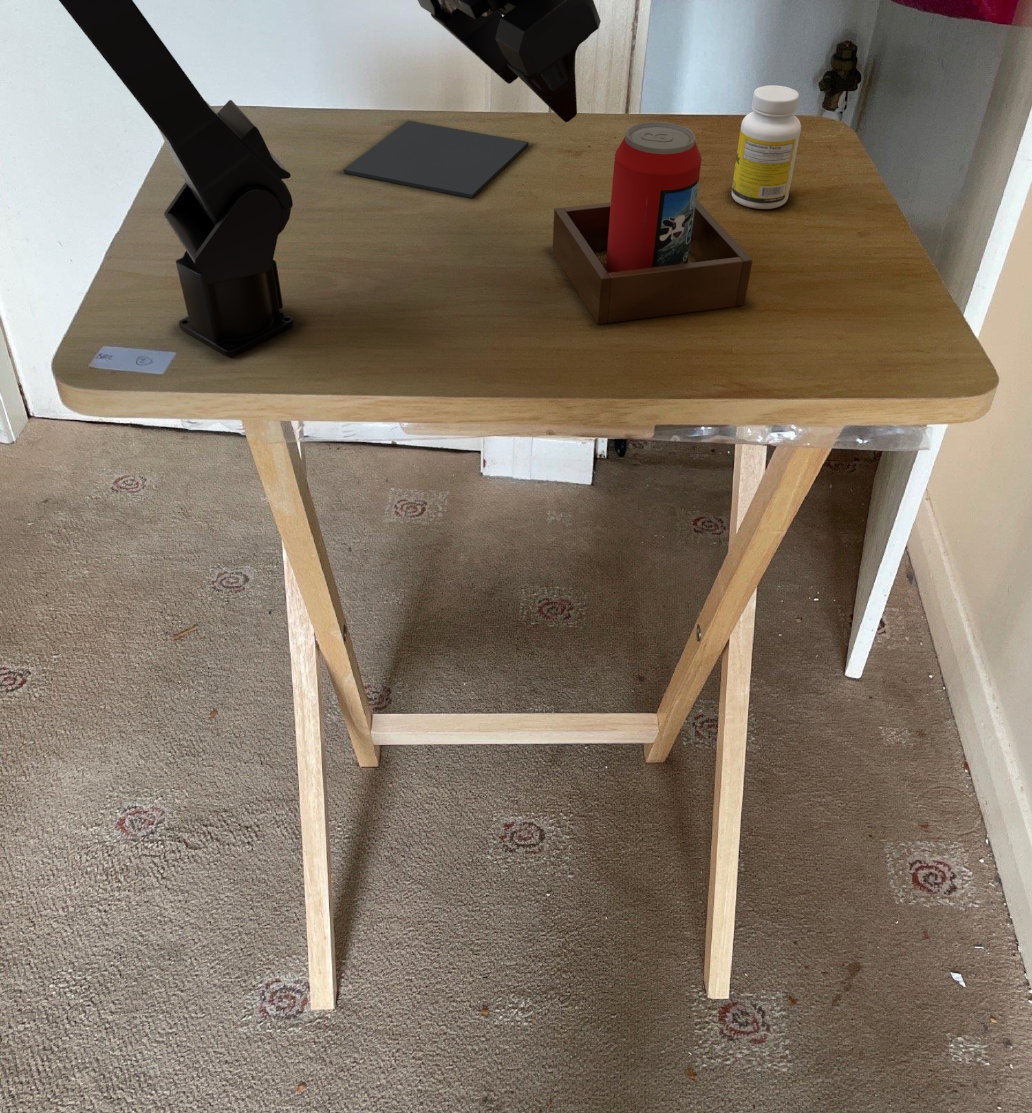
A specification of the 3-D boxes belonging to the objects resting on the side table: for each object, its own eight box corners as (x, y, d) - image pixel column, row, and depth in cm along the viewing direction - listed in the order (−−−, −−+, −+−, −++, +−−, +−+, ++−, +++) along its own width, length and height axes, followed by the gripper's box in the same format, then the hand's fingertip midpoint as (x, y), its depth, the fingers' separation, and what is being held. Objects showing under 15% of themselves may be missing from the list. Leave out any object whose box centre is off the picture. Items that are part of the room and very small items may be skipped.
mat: (472, 198, 98) (472, 194, 98) (343, 173, 102) (343, 169, 102) (528, 145, 108) (528, 141, 108) (408, 123, 112) (408, 120, 112)
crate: (597, 324, 82) (601, 278, 79) (552, 251, 91) (554, 207, 88) (744, 305, 85) (752, 259, 82) (686, 236, 93) (692, 193, 91)
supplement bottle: (745, 181, 102) (763, 77, 95) (796, 196, 100) (818, 90, 93) (720, 200, 99) (736, 94, 92) (772, 216, 97) (792, 108, 90)
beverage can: (681, 301, 85) (701, 156, 77) (599, 292, 86) (610, 147, 78) (688, 263, 90) (707, 122, 81) (610, 254, 91) (622, 114, 82)
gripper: (626, -148, 64) (691, 72, 76) (486, -193, 75) (562, 4, 88) (482, -38, 64) (570, 165, 76) (365, -100, 75) (457, 84, 87)
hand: (541, 98), depth 82 cm, fingers open, 9 cm apart
